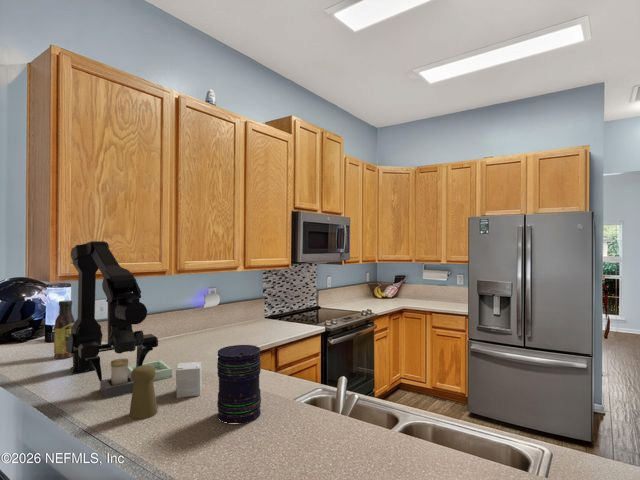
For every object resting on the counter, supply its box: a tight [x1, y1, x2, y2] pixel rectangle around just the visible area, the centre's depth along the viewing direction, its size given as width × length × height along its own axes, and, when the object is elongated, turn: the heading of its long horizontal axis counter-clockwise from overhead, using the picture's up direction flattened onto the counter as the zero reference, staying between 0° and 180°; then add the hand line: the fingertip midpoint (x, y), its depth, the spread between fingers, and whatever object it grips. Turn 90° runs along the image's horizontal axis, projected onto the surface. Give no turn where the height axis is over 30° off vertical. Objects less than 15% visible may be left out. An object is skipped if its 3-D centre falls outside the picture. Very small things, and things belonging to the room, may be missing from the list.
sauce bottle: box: [53, 299, 76, 360], centre depth 138 cm, size 7×6×20 cm
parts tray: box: [128, 359, 173, 382], centre depth 116 cm, size 11×10×2 cm
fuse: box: [110, 358, 129, 386], centre depth 105 cm, size 4×4×8 cm
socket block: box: [99, 374, 134, 399], centre depth 105 cm, size 8×8×2 cm
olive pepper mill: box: [128, 365, 158, 421], centre depth 90 cm, size 6×6×11 cm
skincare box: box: [175, 361, 203, 399], centre depth 103 cm, size 6×6×7 cm
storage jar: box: [216, 344, 262, 424], centre depth 89 cm, size 10×10×15 cm
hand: (119, 377), depth 105 cm, fingers open, 9 cm apart
